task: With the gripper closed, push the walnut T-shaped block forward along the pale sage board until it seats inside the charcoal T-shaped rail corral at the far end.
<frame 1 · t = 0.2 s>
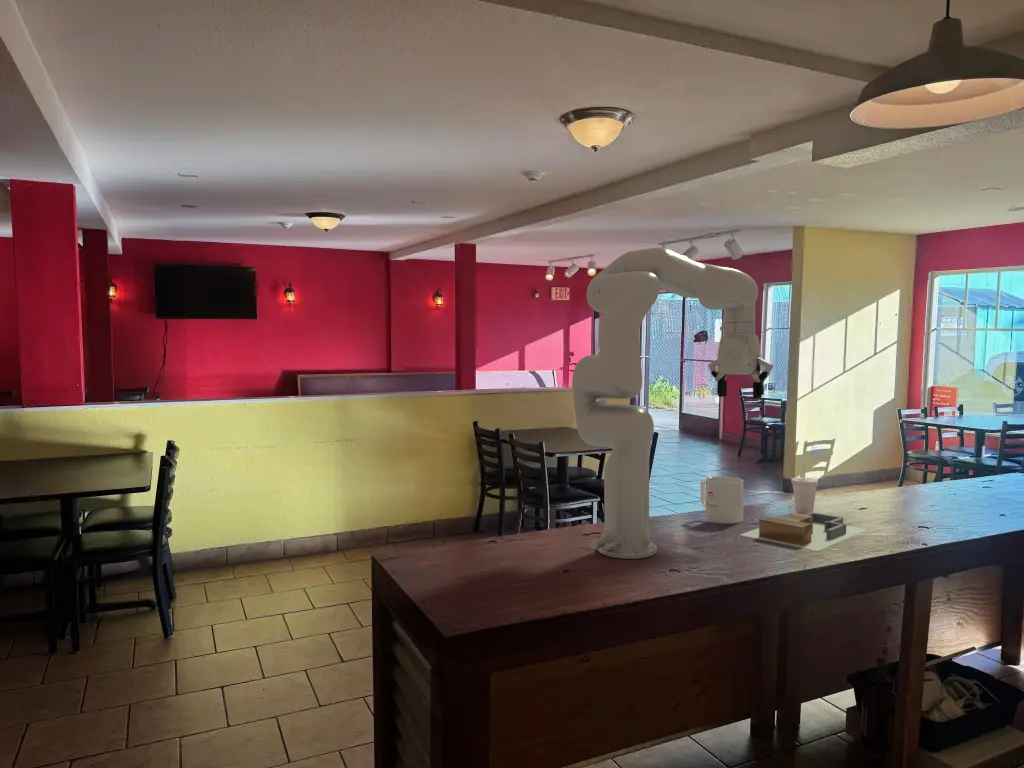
hand: (739, 397, 180), 31 cm above the table, fingers open, 9 cm apart
mug: (719, 523, 177), on the table
t block: (789, 537, 157), point 1 cm above the table, touching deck
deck: (804, 537, 162), on the table
smoothie: (804, 517, 181), on the table
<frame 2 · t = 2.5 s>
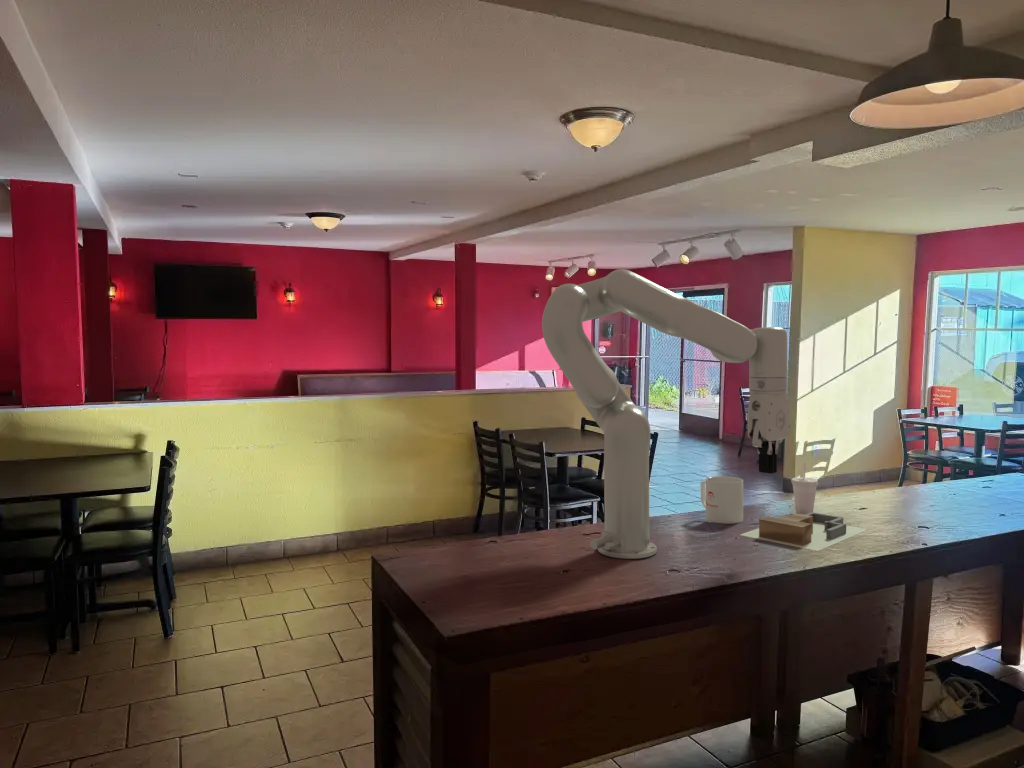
hand: (767, 472, 150), 17 cm above the table, fingers closed
nothing on the table moved.
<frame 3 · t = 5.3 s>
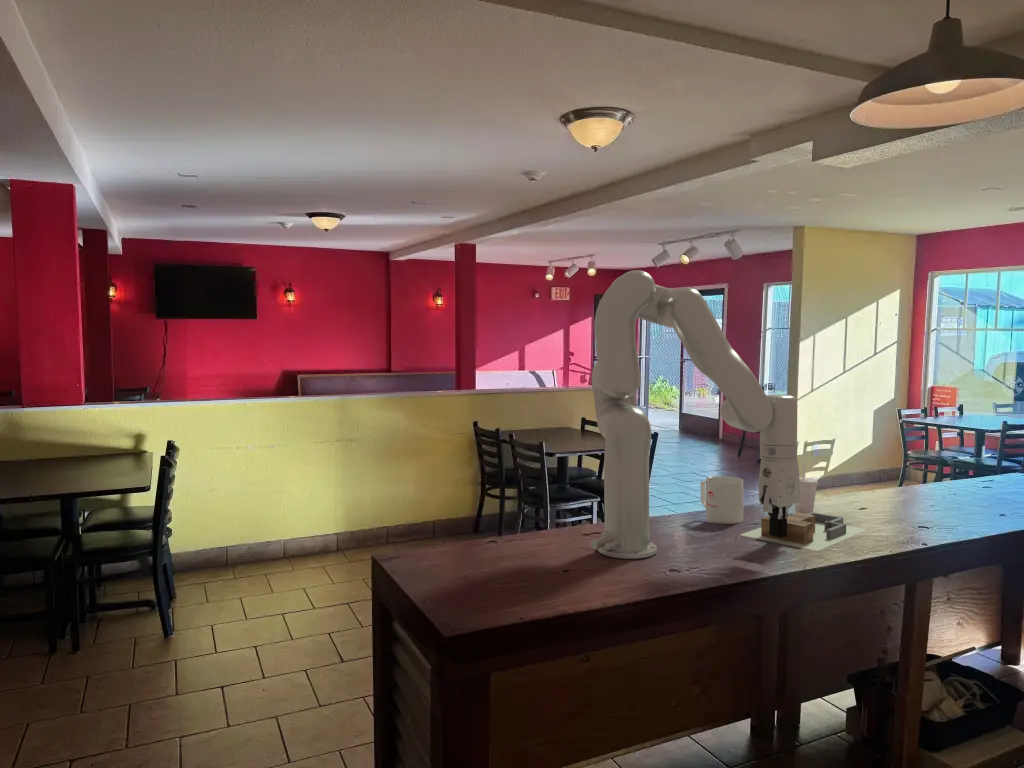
hand: (778, 535, 154), 3 cm above the table, fingers closed
t block: (791, 536, 158), point 1 cm above the table, touching gripper
everything else where it was.
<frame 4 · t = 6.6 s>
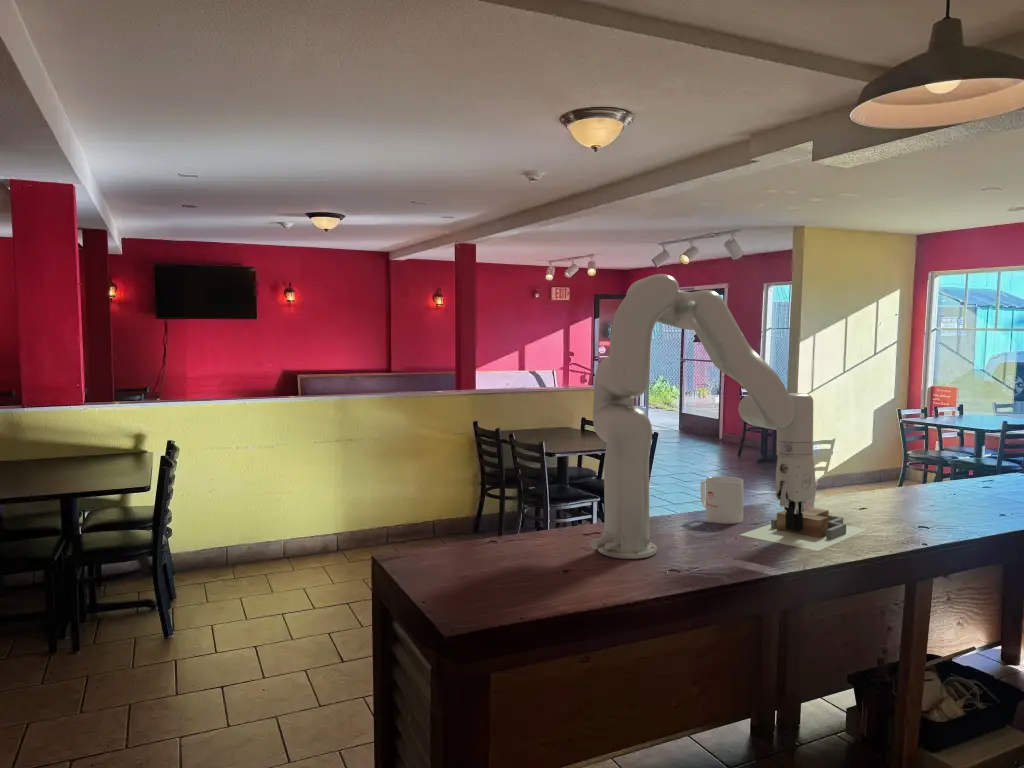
hand: (793, 529, 159), 3 cm above the table, fingers closed
t block: (806, 530, 163), point 1 cm above the table, touching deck, gripper
everything else where it was.
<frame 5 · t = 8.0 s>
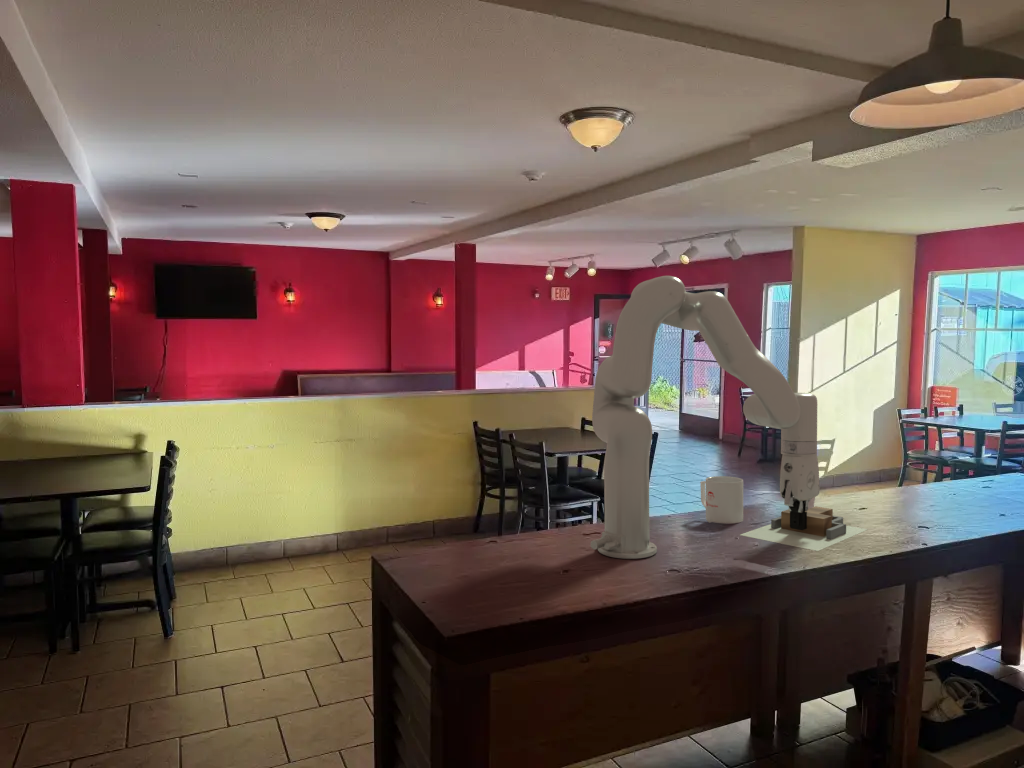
hand: (798, 528, 160), 3 cm above the table, fingers closed
t block: (810, 529, 164), point 1 cm above the table, touching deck, gripper
everything else where it was.
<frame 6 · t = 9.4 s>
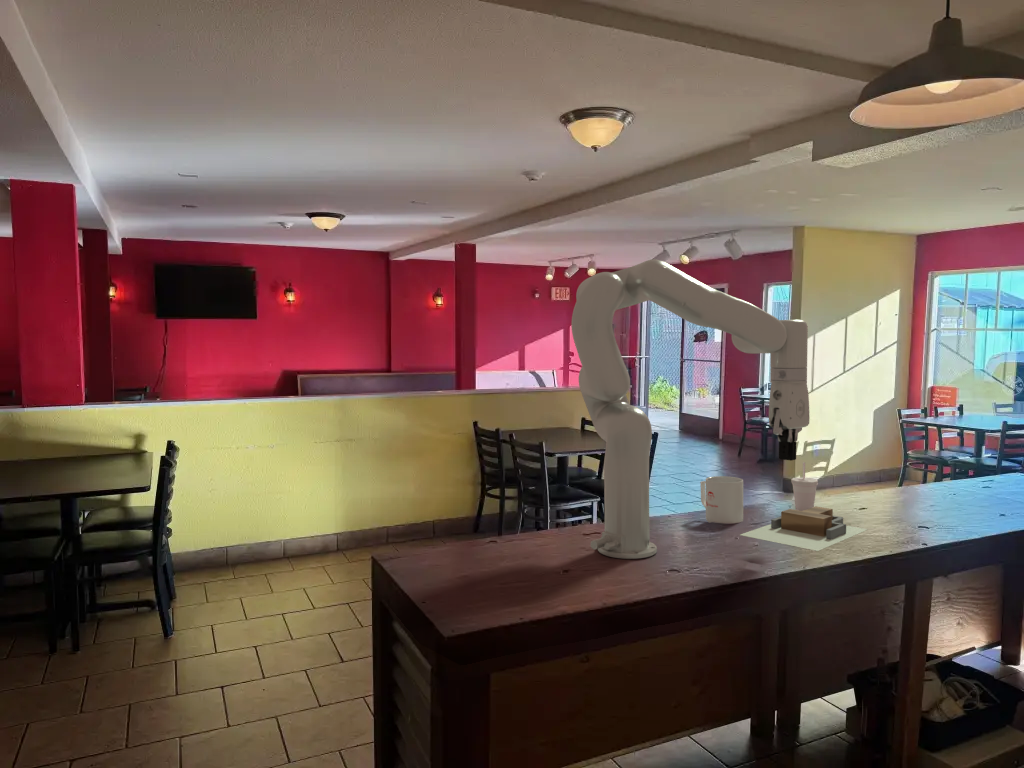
hand: (787, 459, 156), 19 cm above the table, fingers closed
t block: (810, 529, 164), point 1 cm above the table, touching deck
everything else where it was.
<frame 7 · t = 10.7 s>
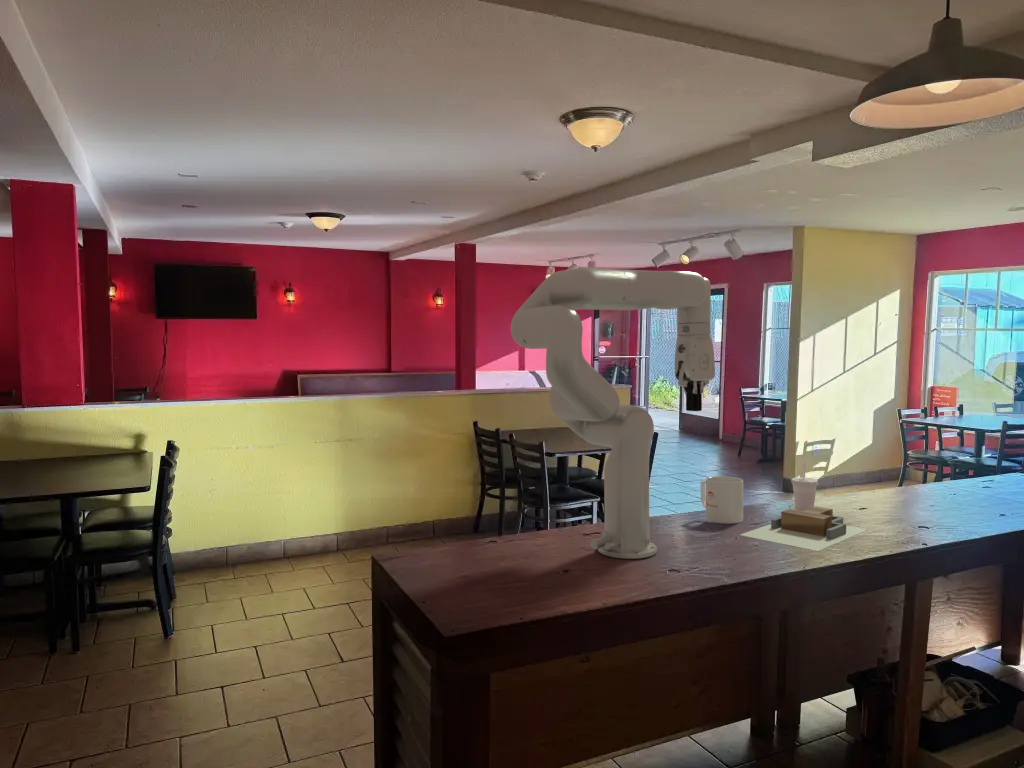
hand: (693, 410, 164), 29 cm above the table, fingers closed
nothing on the table moved.
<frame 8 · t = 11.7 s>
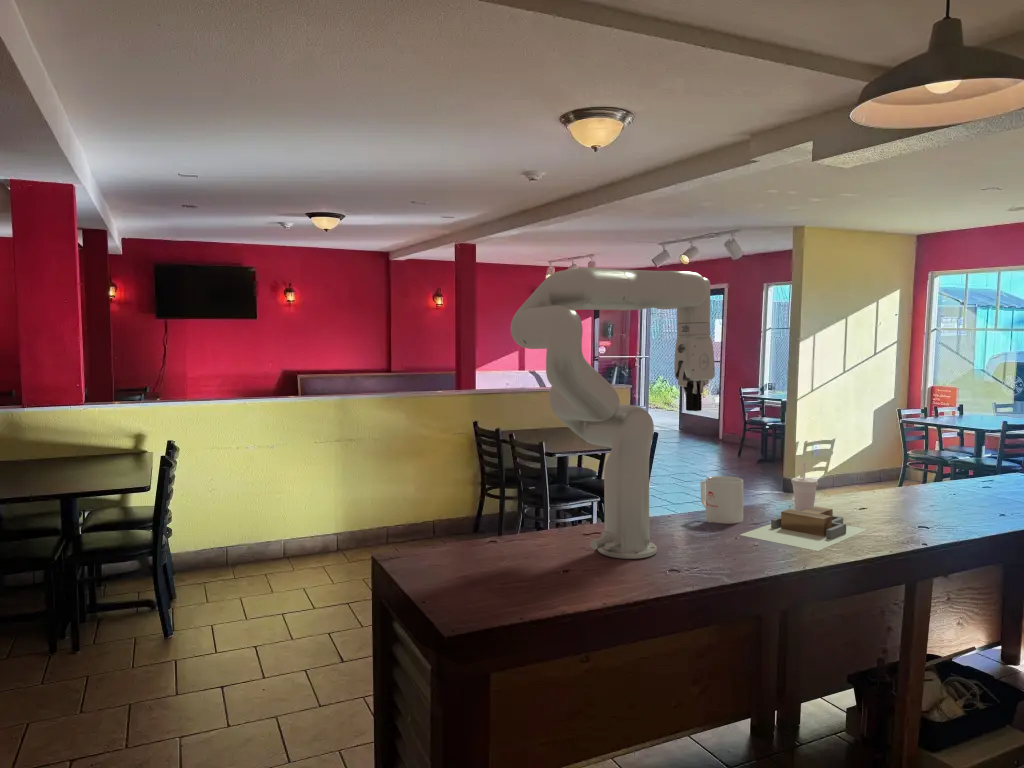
hand: (693, 410, 164), 29 cm above the table, fingers closed
nothing on the table moved.
at the end: t block 0.1 cm from the target spot on the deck, point 1.2 cm above the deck's base; t block tilted 0° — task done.
